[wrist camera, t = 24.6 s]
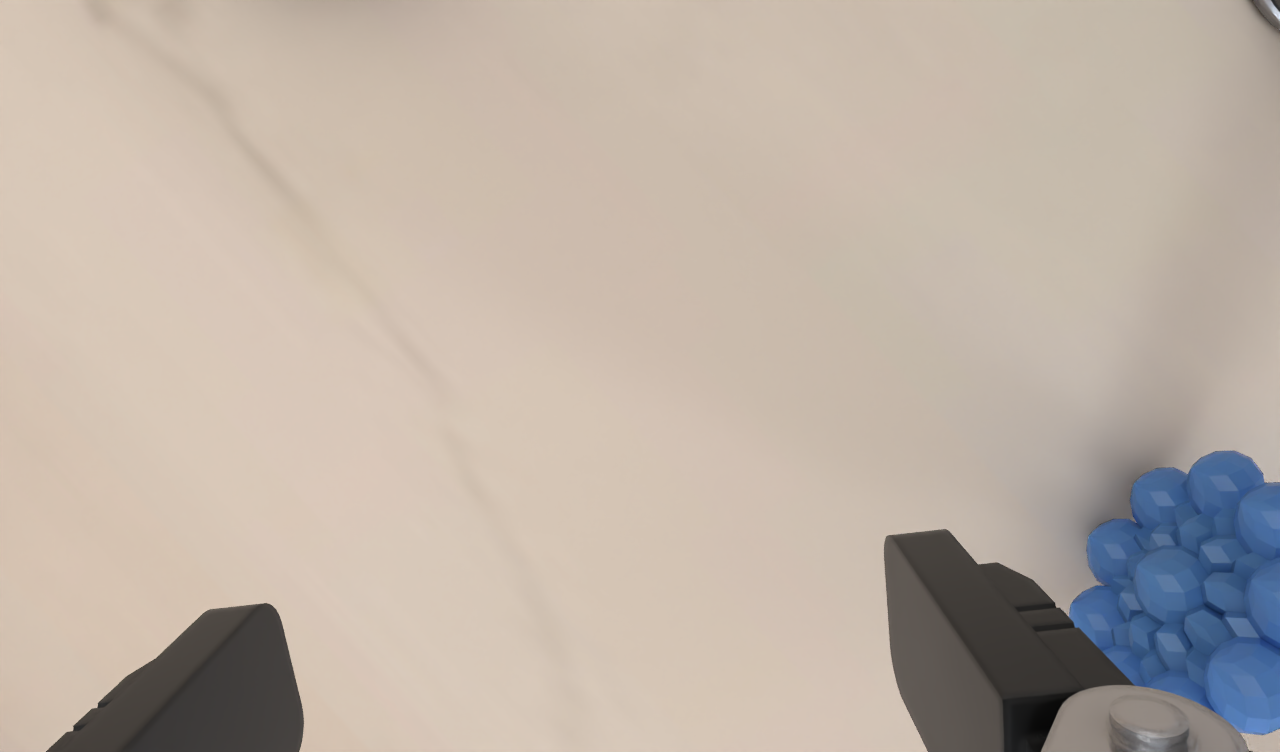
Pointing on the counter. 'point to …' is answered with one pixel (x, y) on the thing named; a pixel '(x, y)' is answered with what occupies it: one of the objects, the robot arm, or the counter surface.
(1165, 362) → the counter surface
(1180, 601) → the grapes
